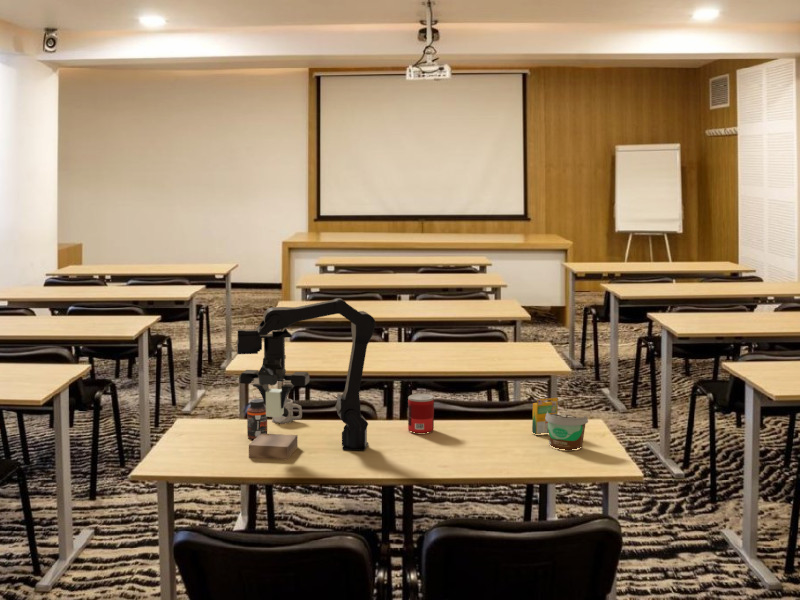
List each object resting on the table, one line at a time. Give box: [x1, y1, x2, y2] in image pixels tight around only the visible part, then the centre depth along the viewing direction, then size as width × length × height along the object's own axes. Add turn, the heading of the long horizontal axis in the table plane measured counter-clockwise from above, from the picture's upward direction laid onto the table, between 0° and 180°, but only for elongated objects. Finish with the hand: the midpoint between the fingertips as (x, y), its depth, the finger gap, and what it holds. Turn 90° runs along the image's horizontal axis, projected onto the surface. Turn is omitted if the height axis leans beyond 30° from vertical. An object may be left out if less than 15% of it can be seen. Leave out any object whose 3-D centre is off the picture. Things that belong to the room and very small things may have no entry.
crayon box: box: [531, 397, 559, 434], centre depth 240 cm, size 7×3×12 cm, turn 108°
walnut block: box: [248, 433, 299, 461], centre depth 222 cm, size 11×11×4 cm
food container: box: [545, 411, 589, 450], centre depth 226 cm, size 12×6×10 cm, turn 70°
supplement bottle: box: [246, 398, 268, 440], centre depth 235 cm, size 6×6×11 cm
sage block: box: [265, 388, 284, 418], centre depth 219 cm, size 4×4×7 cm
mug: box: [271, 398, 303, 425], centre depth 253 cm, size 10×7×7 cm, turn 77°
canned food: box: [407, 393, 435, 433], centre depth 242 cm, size 8×8×11 cm
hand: (274, 407), depth 219 cm, fingers closed on sage block, 4 cm apart
